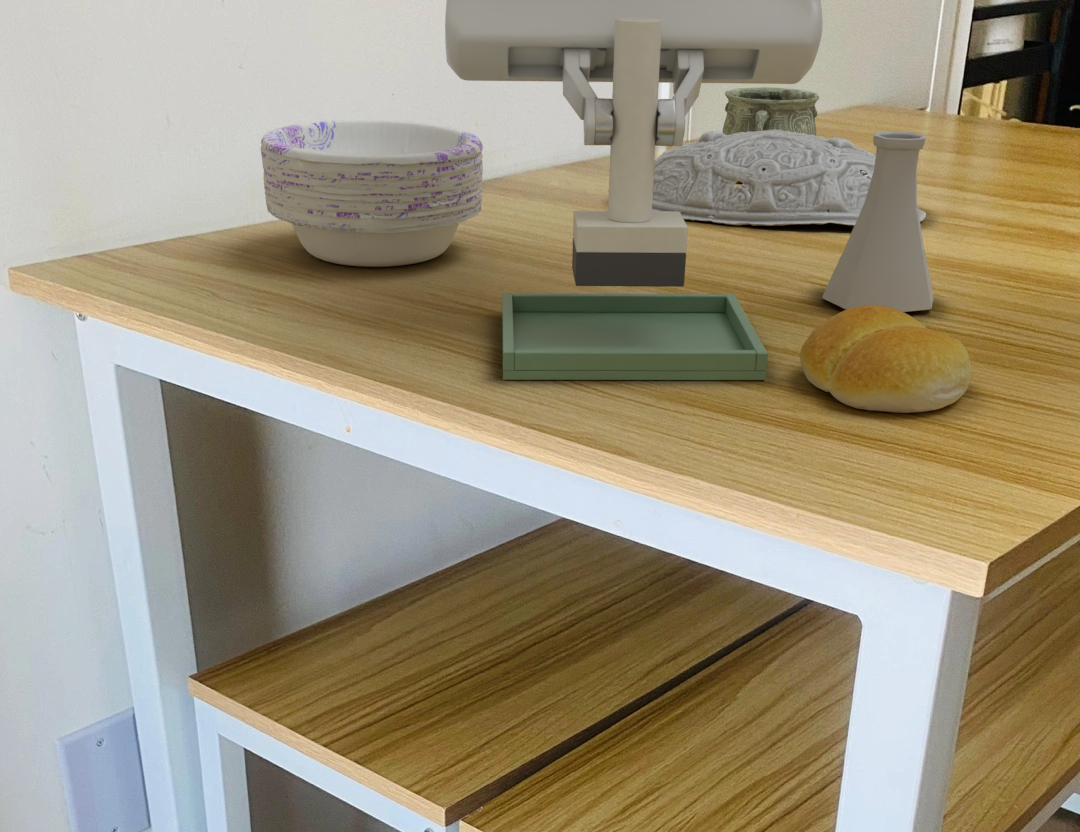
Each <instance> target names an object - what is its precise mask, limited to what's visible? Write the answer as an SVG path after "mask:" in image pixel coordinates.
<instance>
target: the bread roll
mask: <svg viewBox="0 0 1080 832" xmlns="http://www.w3.org/2000/svg"><path fill="white" fill-rule="evenodd" d="M799 361H800V365H801V368H802V371H803V373H804V375H805V377H806V379H807V380H808V382H809V383H811V384H812V385H813V386H814V387H815V388H817V389H819V390H821V391H823V392H826V393H830V394H831V396H832V397H833V398H834V399H836V400H837V401H839V402H840V403H842V404H843V405H846V406H848V407H851V408H854V409H859V410H866V411H871V412H874V411H875V412H888V413H898V414H899V413H900V414H912V413H913V414H915V413H926V412H930V411H936V410H939V409H943V408H945V407H947V406H950V405H952V404H954V403H956V402H957V401H958V400H959V399H960V398H961V397H962V396H963V395H965V393H966V392H967V390H968V388H969V386H970V382H971V376H972V362H971V360H970V355H969V352H968V350H967V348H966V347H965V345H964V344H963V343H962V342H961V340H959V339H957V338H955V337H953V336H951V335H948V334H946V333H944V332H941V331H938V330H934V329H930V328H927V327H926V326H924V324H922V322H920V321H919V320H918V319H916V318H914V317H912V316H911V315H909V314H908V313H906V312H901V311H899V310H896V309H893V308H890V307H885V306H878V305H871V306H859V307H854V308H850V309H844V310H842V311H840V312H838V313H836V314H835V315H833V316H832V317H829V318H828V319H826V320H825V322H823V323H822V324H820V325H818V326H817V327H816V328H815V329H813V330H812V331H811V333H810V334H809V336H807V338H806V339H805V341H804V342H803V344H802V345H801V348H800V352H799Z"/></svg>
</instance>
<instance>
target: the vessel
mask: <svg viewBox="0 0 1080 832" xmlns="http://www.w3.org/2000/svg"><path fill="white" fill-rule="evenodd" d="M724 95H725V97H726V98H727V103H726V104H725V107H724V112H726V115H725V119H724V123H723V127H722V132H723V134H725V135H730V134H735V133H739V132H755V131H767V130H782V131H787V132H788V131H790V132H796V133H804V134H808V135H815V136H817V126H816V118H817V117H818V111H817V110H818V109H817V108H816V103H817V102H818V101H819V99H820V95H819V94H818V93H817V92H813V91H809V90H803V89H795V88H785V87H771V86H770V87H769V86H767V87H766V86H765V87H764V86H763V87H760V86H759V87H740V88H733V89H729V90H726V91H725V92H724Z"/></svg>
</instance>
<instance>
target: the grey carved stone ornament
mask: <svg viewBox="0 0 1080 832" xmlns="http://www.w3.org/2000/svg"><path fill="white" fill-rule="evenodd" d="M875 159H876V154H874V153H872V152H870V151H868V150H866V149H863V148H860V147H858V146H855V145H854V144H853V143H852V142H851V141H850V140H849V139H846V138H844V137H840V136H837V137H830V138H826V137H824V136H819V135H816V136H815V135H808V134H804V133H796V132H790V131H788V132H787V131H782V130H767V131H755V132H739V133H735V134H730V135H725V134H723V131H720V130H710V131H706V132H704V133H702V134H701V136H699V138H698V140H696V141H691V142H687V143H684V144H682V146H675V147H674V148H672V149H668V150H665V151H663V152H662V153H661V154H660V155H659V156H658V157H657V158H655V162H654V181H653V199H652V211H679V212H680V214H681V215H682V217H683V219H684V221H686V220H687V221H689V220H690V221H701V222H712V223H716V224H725V225H732V226H743V225H744V226H747V225H751V226H755V227H757V226H758V227H759V226H767V227H769V226H773V227H774V226H789V225H791V226H792V225H813V224H814V225H825V224H837V225H843V226H846V225H847V226H853V227H854V226H855V224H856V221H857V219H858V217H859V214H860V212H861V210H862V207H863V205H864V203H865V200H866V196H867V193H868V189H869V186H870V182H871V179H872V175H873V172H874V166H875ZM735 185H738V186H735ZM918 212H919V218H920V223H921V222H923V221H925V219H926V217H927V216H926V215H927V212H925V211H924V210H922V209H920V208H919V207H918Z"/></svg>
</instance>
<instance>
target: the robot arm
mask: <svg viewBox="0 0 1080 832" xmlns="http://www.w3.org/2000/svg"><path fill="white" fill-rule="evenodd" d="M445 5H446V6H445V17H444V18H445V20H444V37H445V40H444V41H445V42H444V43H445V56H446V64H447V65H448V66H449V68H450V69H451V70H452V71H453V72H454V74H455V75H456V76H457V77H458V78H459V79H460V80H463V81H468V82H470V81H473V82H478V81H481V82H492V81H493V82H561V83H562V96H563V97H564V98H565V100H566V101H567V102H568V104H569V105H570V106H571V108H572V109H573V111H574V112H575V113H576V115H577V116H578V118H579V119H580V120H581V121H583V145H584V146H611V144H612V136H613V116H612V114H613V101H612V98H601V97H598V96H597V94H596V92H595V91H594V89H593V88H592V86H591V84H590V83H613V66H614V39H615V19H616V18H621V17H649V18H658V19H661V20H662V30H661V49H660V68H659V84H660V83H668V84H672V88H673V89H672V91H673V96H672V98H658V104H657V124H656V140H655V147H678V146H682V145H683V143H684V138H685V132H686V116H687V115H688V113H689V112H690V110H691V109H692V108H693V106H694V104H695V102H696V101H697V100H698V98H699V96H700V91H701V86H702V84H754V85H755V84H757V85H766V84H767V85H770V84H771V85H796V84H798V83H799V82H800V81H802V79H803V78H805V76H806V75H807V74H808V73H809V71H810V70H811V69H812V67H813V65H814V62H815V60H816V57H817V55H818V52H819V48H820V44H821V40H822V35H823V26H824V23H823V10H822V0H446V3H445Z"/></svg>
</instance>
